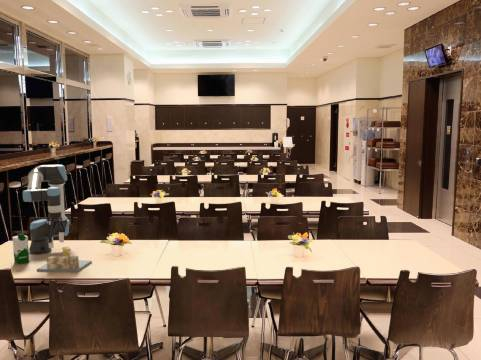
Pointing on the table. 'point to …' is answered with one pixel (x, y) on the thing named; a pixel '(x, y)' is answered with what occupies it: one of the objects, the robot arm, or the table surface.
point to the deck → (65, 253)
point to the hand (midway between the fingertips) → (56, 244)
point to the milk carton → (21, 249)
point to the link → (62, 262)
